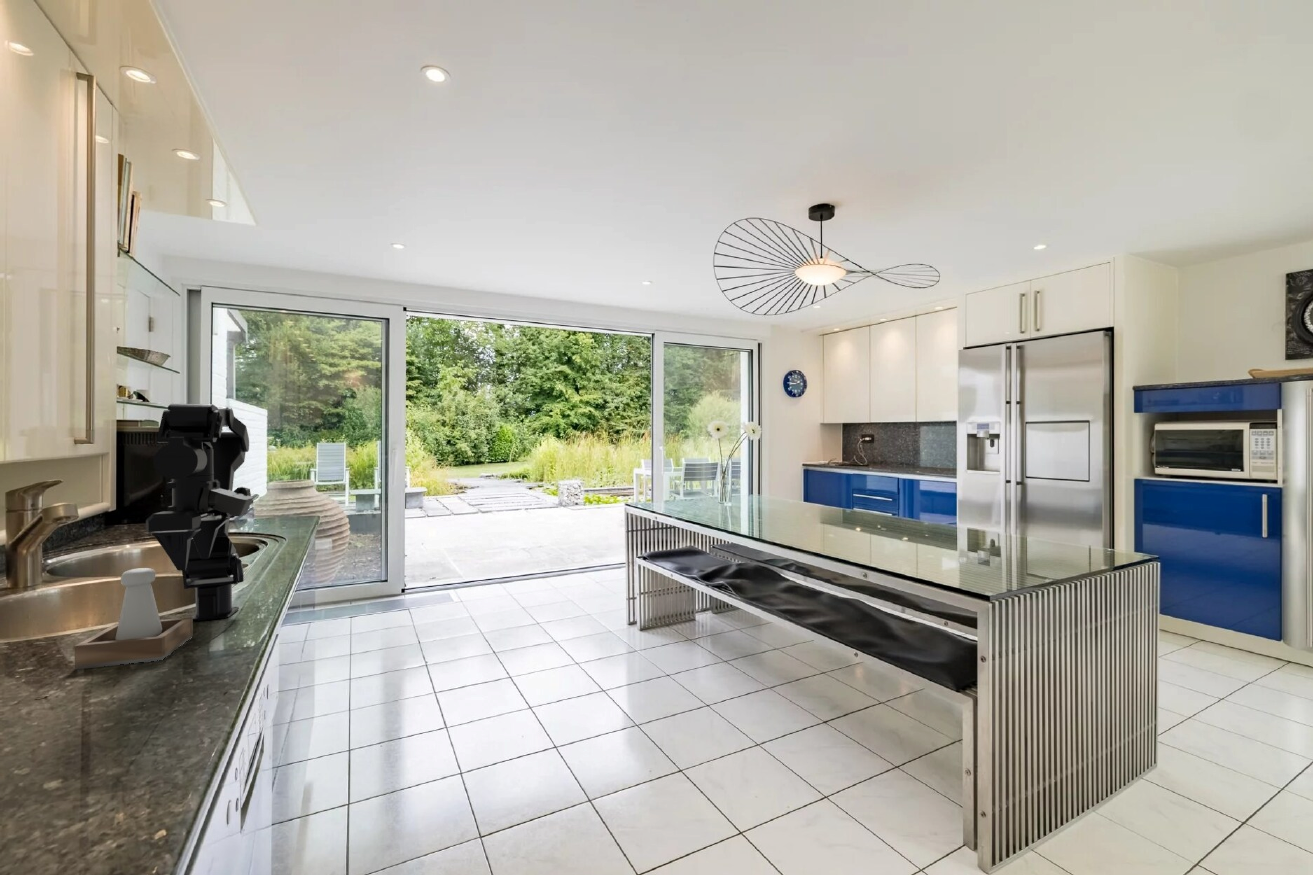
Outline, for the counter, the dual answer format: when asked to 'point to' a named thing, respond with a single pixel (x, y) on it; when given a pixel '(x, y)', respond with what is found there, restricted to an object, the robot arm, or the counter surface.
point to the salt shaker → (138, 606)
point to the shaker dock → (132, 645)
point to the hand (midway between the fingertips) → (194, 564)
